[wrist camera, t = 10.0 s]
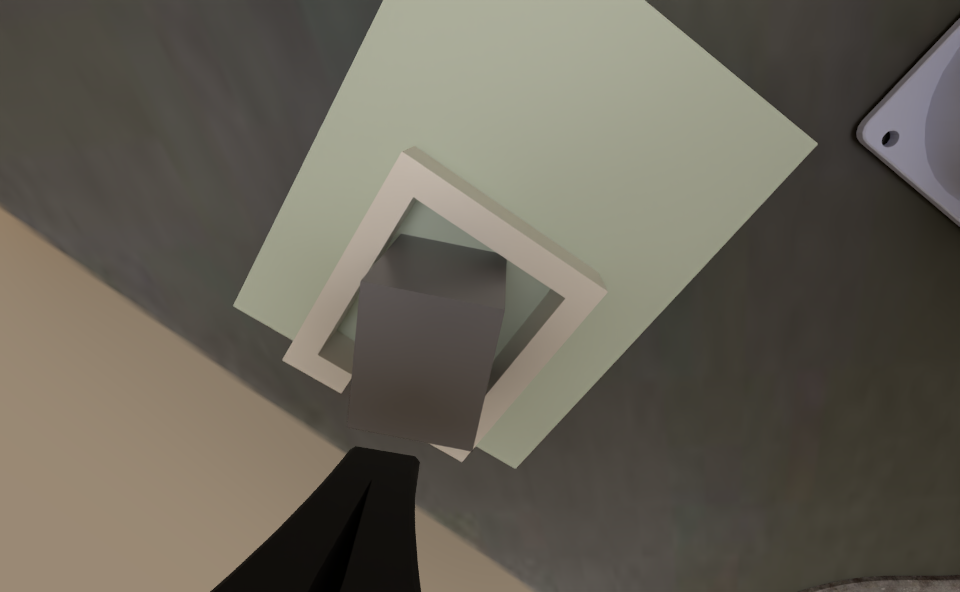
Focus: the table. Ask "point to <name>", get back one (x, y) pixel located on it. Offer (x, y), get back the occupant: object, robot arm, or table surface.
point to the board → (537, 167)
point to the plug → (426, 341)
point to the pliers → (892, 584)
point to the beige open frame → (490, 224)
